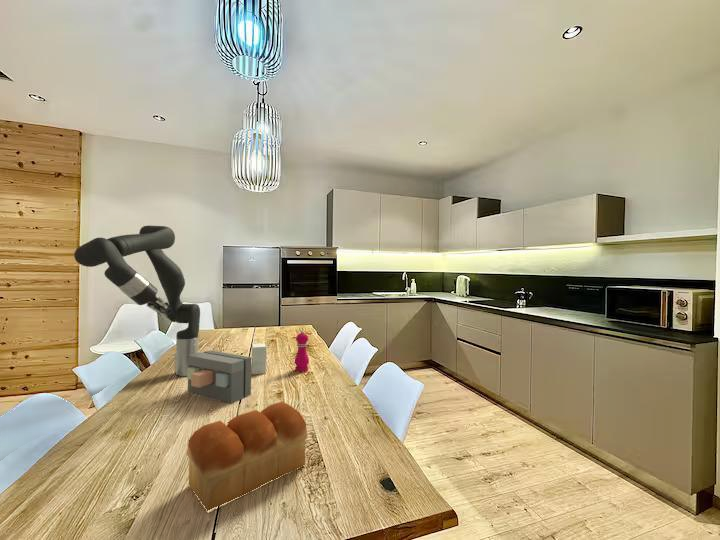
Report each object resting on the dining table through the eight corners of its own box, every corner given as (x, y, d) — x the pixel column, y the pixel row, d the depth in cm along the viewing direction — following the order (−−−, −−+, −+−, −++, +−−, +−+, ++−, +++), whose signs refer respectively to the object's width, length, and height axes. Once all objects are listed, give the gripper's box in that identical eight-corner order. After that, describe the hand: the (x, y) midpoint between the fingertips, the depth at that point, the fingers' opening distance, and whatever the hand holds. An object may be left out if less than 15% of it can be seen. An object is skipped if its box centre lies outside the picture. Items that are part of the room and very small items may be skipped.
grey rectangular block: (215, 385, 123) (215, 373, 123) (232, 379, 130) (232, 368, 130) (224, 387, 121) (224, 375, 121) (240, 381, 128) (240, 369, 128)
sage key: (187, 378, 130) (187, 367, 130) (204, 373, 137) (204, 362, 137) (194, 380, 128) (194, 369, 128) (211, 374, 135) (212, 364, 135)
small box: (266, 373, 157) (266, 346, 157) (252, 374, 155) (252, 347, 155) (264, 368, 165) (265, 343, 165) (251, 370, 163) (252, 343, 163)
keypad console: (187, 392, 132) (188, 355, 132) (208, 384, 141) (209, 350, 141) (231, 403, 122) (231, 363, 122) (250, 394, 131) (251, 357, 131)
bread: (206, 516, 66) (207, 443, 66) (186, 487, 75) (187, 422, 75) (307, 466, 84) (308, 408, 84) (281, 446, 93) (282, 394, 93)
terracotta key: (191, 385, 122) (191, 373, 122) (209, 379, 129) (209, 368, 129) (199, 387, 120) (199, 375, 120) (217, 381, 128) (217, 369, 128)
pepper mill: (310, 368, 167) (311, 329, 167) (306, 372, 160) (307, 331, 160) (296, 367, 167) (297, 328, 167) (292, 372, 160) (293, 331, 160)
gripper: (155, 281, 108) (191, 313, 118) (138, 279, 116) (174, 310, 126) (137, 298, 104) (176, 330, 114) (121, 295, 112) (159, 326, 122)
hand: (175, 320), depth 120 cm, fingers closed
